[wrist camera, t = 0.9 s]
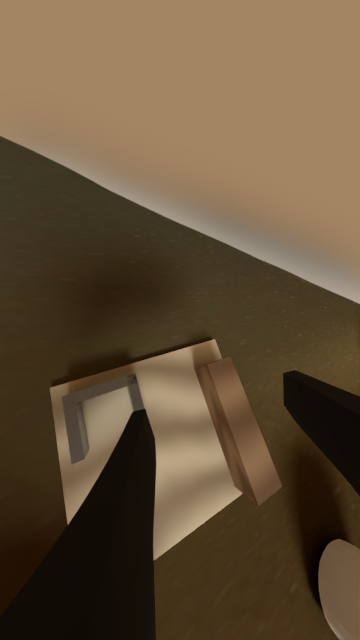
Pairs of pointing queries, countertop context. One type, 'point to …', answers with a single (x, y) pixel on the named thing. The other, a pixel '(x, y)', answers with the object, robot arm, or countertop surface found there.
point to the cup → (341, 588)
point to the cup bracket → (76, 416)
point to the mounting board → (170, 439)
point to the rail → (238, 431)
